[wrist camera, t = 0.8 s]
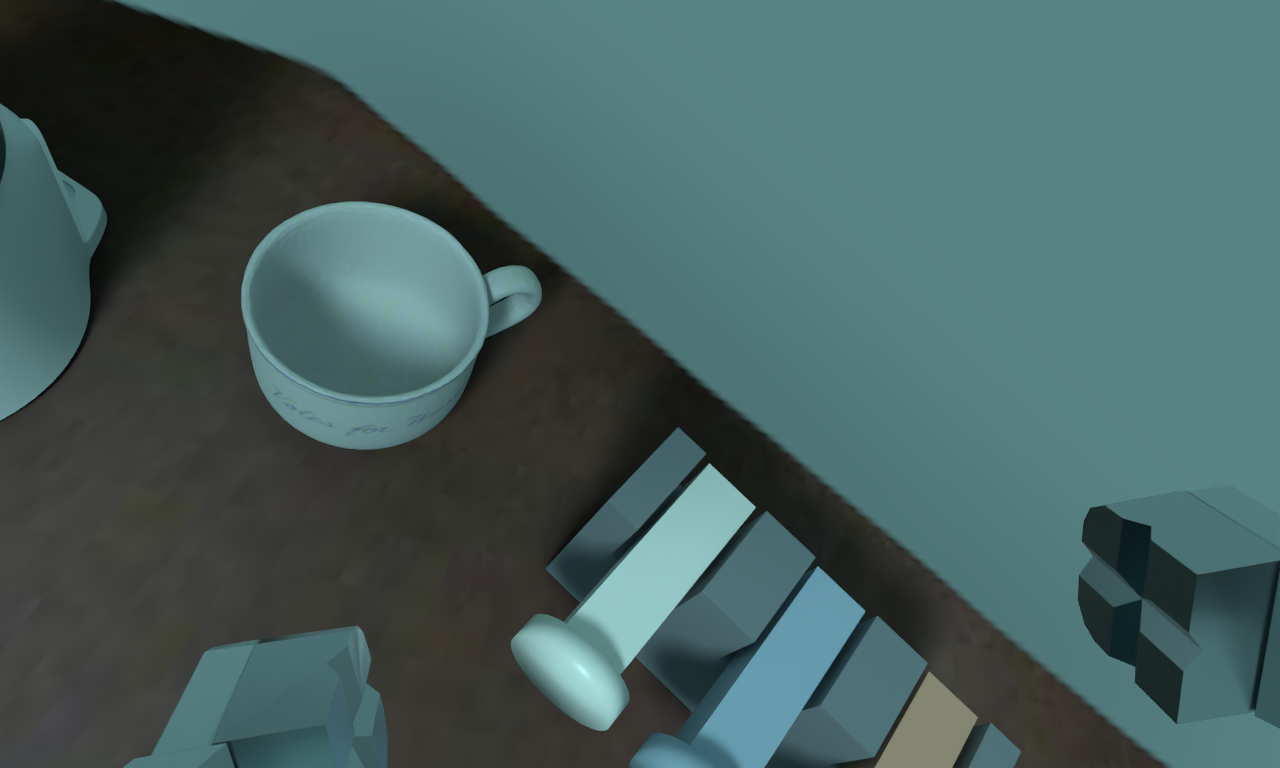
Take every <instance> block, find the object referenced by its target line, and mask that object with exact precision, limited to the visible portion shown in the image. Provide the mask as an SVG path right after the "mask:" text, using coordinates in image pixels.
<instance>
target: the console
mask: <svg viewBox="0 0 1280 768" xmlns="http://www.w3.org/2000/svg"><path fill="white" fill-rule="evenodd" d="M705 455H706V453H705V452H704V451H703V450H702V449H701V448H700V447H699V446H698V445H697V444H696V443H695V442H694V441H693V440H691V439H690V438H689V437H688V436H687V435H686V434H685V433H684V432H683V431H682V430H681V429H680V428H679V427H678V428H677V429H676V430H675V431H674V432H673V433H672V434H671V435H670V436H669V437H668V438H667V439H666V440H665V441H664V443H663V444H662V445H661V446H660V447H659V448H658V449H657V450H656V451H655V452H654V453H653V454H652V455H651V456H650V457H649V458H648V459H647V460H646V461H645V462H644V464H643V465H642V466H641V467H640V468H639V469H638V470H637V471H636V472H635V473H634V474H633V475H632V476H631V477H630V478H629V479H628V480H627V481H626V482H625V483H624V484H623V486H622V487H621V488H620V489H619V490H618V491H617V492H616V493H615V494H614V495H613V496H612V497H611V498H610V499H609V500H608V501H607V502H606V503H605V505H604V506H603V507H602V508H601V509H600V510H599V511H598V512H597V513H596V514H595V515H594V516H593V518H592V519H591V520H590V521H589V522H588V523H587V524H586V525H585V526H584V527H583V528H582V529H581V531H580V532H579V533H578V534H577V535H576V536H575V537H574V538H573V539H572V540H571V541H570V542H569V544H568V545H567V546H566V547H565V548H564V549H563V550H562V551H561V552H560V553H559V554H558V555H557V557H556V558H555V559H554V560H553V561H552V562H551V563H550V564H549V565H548V566H547V567H546V568H545V569H546V570H547V571H548V572H549V573H550V574H551V575H552V576H553V577H554V578H555V579H556V580H557V581H558V582H559V583H560V584H561V585H562V586H563V587H564V588H565V589H566V590H567V591H569V592H570V593H571V594H572V595H573V596H574V597H575V598H576V599H577V600H578V601H579V602H580V603H581V602H582V601H583V599H584V598H585V597H586V596H587V595H588V594H589V593H590V592H591V590H592V589H593V588H594V587H595V586H596V585H597V584H598V583H599V582H600V580H601V579H602V578H603V577H604V576H605V575H606V574H607V573H608V571H609V570H610V569H611V568H612V567H613V566H614V565H615V564H616V563H617V561H618V560H619V559H620V558H621V557H622V556H623V555H624V554H625V552H626V551H627V550H628V549H629V548H630V547H631V546H632V545H633V544H634V542H635V541H636V540H637V539H638V538H639V537H640V536H641V535H642V533H643V532H644V531H645V530H646V529H647V528H648V527H649V526H650V524H651V523H652V522H653V521H654V520H655V519H656V518H657V517H658V516H659V514H660V513H661V512H662V511H663V510H664V509H665V508H666V507H667V505H668V504H669V503H670V502H671V501H672V500H673V499H674V498H675V497H676V495H677V494H678V493H679V492H680V491H681V490H682V489H683V487H682V486H681V485H680V483H681V481H682V480H683V479H684V478H685V477H686V476H687V475H688V474H689V473H690V471H691V470H692V469H693V468H694V467H695V466H696V465H697V464H698V463H699V461H700V460H701V459H702V458H703V457H704V456H705ZM815 558H816V557H815V556H814V555H813V554H812V553H811V552H810V551H809V550H808V549H807V548H806V547H804V546H803V545H802V544H801V543H800V542H799V541H798V540H797V539H796V538H795V537H794V536H793V535H792V534H791V533H790V532H789V531H788V530H787V529H785V528H784V527H783V526H782V525H781V524H780V523H779V522H778V521H777V520H776V519H775V518H774V517H773V516H772V515H771V514H770V513H769V512H768V511H766V512H764V513H763V514H762V515H760V516H759V517H757V518H756V519H754V520H753V521H752V522H750V523H749V524H747V525H746V526H745V527H743V528H742V529H740V530H739V531H738V532H736V533H735V534H734V535H733V536H732V538H731V539H730V540H729V541H728V542H727V544H726V545H725V546H724V547H723V549H722V550H721V551H720V552H719V554H718V555H717V556H716V557H715V559H714V560H713V561H712V562H711V563H710V565H709V566H708V567H707V568H706V570H705V571H704V572H703V573H702V575H701V576H700V577H699V578H698V579H697V581H696V582H695V583H694V584H693V586H692V587H691V588H690V589H689V591H688V592H687V593H686V594H685V596H684V597H683V598H682V599H681V600H680V602H679V603H678V604H677V605H676V607H675V608H674V609H673V610H672V612H671V613H670V614H669V615H668V616H667V618H666V619H665V620H664V621H663V623H662V624H661V625H660V626H659V628H658V629H657V630H656V631H655V633H654V634H653V635H652V636H651V637H650V639H649V640H648V641H647V642H646V644H645V645H644V646H643V647H642V649H641V650H640V651H639V652H638V653H637V655H636V656H635V657H636V658H637V659H638V660H639V661H640V662H641V663H642V664H643V665H644V666H645V667H646V668H647V669H649V670H650V671H651V672H652V673H653V674H654V675H655V676H656V677H657V678H658V679H659V680H660V681H661V682H662V683H663V684H664V685H665V686H666V687H667V688H668V689H669V690H670V691H671V692H672V693H673V694H674V695H675V696H676V697H677V698H678V699H679V700H680V701H681V702H682V703H683V704H684V705H685V706H686V707H687V708H689V709H690V710H691V711H692V712H694V710H695V709H696V708H697V706H698V705H699V704H700V702H701V701H702V699H703V698H704V697H705V695H706V694H707V693H708V691H709V690H710V688H711V687H712V686H713V684H714V683H715V682H716V680H717V679H718V678H719V676H720V675H721V673H722V672H723V671H724V669H725V668H726V667H727V665H728V664H729V662H730V661H731V660H732V658H733V657H734V656H735V654H736V653H737V652H738V650H739V649H741V648H743V647H745V646H747V645H749V644H752V643H754V642H755V641H756V639H757V638H758V637H759V635H760V634H761V633H762V631H763V630H764V628H765V627H766V626H767V624H768V623H769V621H770V620H771V619H772V617H773V616H774V615H775V613H776V612H777V610H778V609H779V608H780V606H781V605H782V603H783V602H784V601H785V599H786V598H787V597H788V595H789V594H790V592H791V591H792V590H793V588H794V587H795V585H796V584H797V583H798V581H799V580H800V578H801V577H802V576H803V574H804V573H805V572H806V570H807V569H808V567H809V566H810V565H811V563H812V562H813V560H814V559H815ZM927 664H928V663H927V662H926V661H925V660H924V659H923V658H922V657H921V656H920V655H919V654H918V653H916V652H915V651H914V650H913V649H912V648H911V647H910V646H909V645H908V644H907V643H906V642H905V641H904V640H903V639H902V638H901V637H900V636H899V635H897V634H896V633H895V632H894V631H893V630H892V629H891V628H890V627H889V626H888V625H887V624H886V623H885V622H884V621H883V620H882V619H881V618H880V617H878V616H875V617H873V618H870V619H868V620H866V621H863V622H861V623H858V624H857V625H856V627H855V628H854V630H853V631H852V633H851V635H850V636H849V638H848V639H847V641H846V642H845V644H844V645H843V647H842V648H841V650H840V652H839V653H838V655H837V656H836V658H835V659H834V661H833V662H832V664H831V665H830V667H829V669H828V670H827V672H826V673H825V675H824V676H823V678H822V679H821V681H820V682H819V684H818V686H817V687H816V689H815V690H814V692H813V693H812V695H811V696H810V698H809V699H808V701H807V702H806V704H805V706H804V707H803V709H802V710H801V712H800V713H799V715H798V716H797V718H796V719H795V721H794V723H793V724H792V726H791V727H790V729H789V730H788V732H787V733H786V735H785V736H784V738H783V740H782V741H781V743H780V744H779V746H778V747H777V749H776V750H775V752H774V753H773V755H772V757H771V758H770V760H769V761H768V763H767V764H766V766H765V767H764V768H842V767H843V765H844V763H845V762H850V761H855V760H861V759H867V758H873V757H875V755H876V753H877V751H878V750H879V748H880V746H881V744H882V743H883V741H884V739H885V737H886V736H887V734H888V732H889V730H890V729H891V727H892V725H893V723H894V722H895V720H896V718H897V716H898V715H899V713H900V711H901V709H902V707H903V706H904V704H905V702H906V700H907V699H908V697H909V695H910V693H911V692H912V690H913V688H914V686H915V685H916V683H917V681H918V679H919V678H920V676H921V674H922V672H923V671H924V669H925V667H926V665H927ZM1020 752H1021V751H1020V750H1019V749H1018V748H1017V747H1016V746H1015V745H1014V744H1013V743H1012V742H1011V741H1009V740H1008V739H1007V738H1006V737H1005V736H1004V735H1003V734H1002V733H1001V732H1000V731H999V730H998V729H997V728H996V727H995V726H994V725H993V724H992V723H988V724H983V725H977V726H973V728H972V730H971V732H970V734H969V736H968V738H967V740H966V742H965V744H964V746H963V748H962V749H961V751H960V753H959V755H958V757H957V759H956V761H955V763H954V765H953V767H952V768H1013V767H1014V765H1015V763H1016V761H1017V759H1018V757H1019V754H1020Z"/></svg>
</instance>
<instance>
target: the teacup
mask: <svg viewBox="0 0 1280 768" xmlns="http://www.w3.org/2000/svg"><path fill="white" fill-rule="evenodd" d="M507 296H509V297H507ZM504 297H507V298H506V299H504V300H503V301H501V302H499V303H497V304H495V305H493V306H491V307H489V306H490V305H491V304H493V303H495V302H497V301H498V300H500V299H502V298H504ZM541 299H542V289H541V285H540V283H539V281H538V279H537V277H536V275H535V274H534V273H533V272H532V271H531V270H530V269H528V268H526V267H523V266H515V265H512V266H505V267H501V268H498V269H495V270H493V271H491V272H488V273H486V274H484V275H482V274H481V272H480V270H479V268H478V266H477V265H476V263H475V262H474V260H473V259H472V257H471V256H470V254H469V253H468V252H467V251H466V250H465V249H464V248H463V246H462V245H461V244H460V243H459V242H458V241H457V240H456V239H455V237H453V236H452V235H451V234H450V233H449V232H447V231H446V230H445V229H443V228H442V227H441V226H439V225H437V224H436V223H434V222H432V221H431V220H429V219H427V218H425V217H423V216H421V215H418V214H416V213H413V212H411V211H408V210H406V209H402V208H398V207H395V206H390V205H385V204H378V203H371V202H342V203H333V204H326V205H323V206H319V207H316V208H313V209H309V210H307V211H304V212H302V213H299V214H297V215H295V216H294V217H292V218H290V219H288V220H286V221H285V222H283V223H282V224H280V225H279V226H277V227H276V228H275V229H273V230H272V231H271V232H270V233H269V234H268V235H267V236H266V237H265V238H264V239H263V240H262V242H261V243H260V244H259V245H258V247H257V248H256V249H255V251H254V252H253V254H252V256H251V258H250V260H249V263H248V265H247V267H246V270H245V272H244V280H243V283H242V288H241V305H242V311H243V318H244V323H245V326H246V328H247V333H248V342H249V348H250V354H251V359H252V364H253V368H254V371H255V374H256V377H257V380H258V382H259V385H260V387H261V389H262V391H263V393H264V395H265V396H266V398H267V399H268V401H269V402H270V404H271V405H272V407H273V408H274V409H275V410H276V411H277V412H278V413H279V414H280V415H281V416H282V418H283V419H285V420H286V421H287V422H288V423H289V424H291V425H292V426H293V427H294V428H296V429H298V430H299V431H301V432H302V433H304V434H306V435H307V436H309V437H312V438H314V439H316V440H318V441H320V442H323V443H327V444H330V445H333V446H337V447H342V448H349V449H380V448H386V447H392V446H396V445H399V444H402V443H405V442H408V441H410V440H413V439H415V438H417V437H419V436H421V435H422V434H424V433H426V432H427V431H429V430H430V429H432V428H433V427H434V426H436V425H437V424H438V423H439V422H440V421H441V420H443V419H444V418H445V416H446V415H447V414H448V413H449V412H450V411H451V410H452V408H453V407H454V406H455V404H456V403H457V401H458V400H459V398H460V396H461V395H462V393H463V391H464V389H465V387H466V384H467V382H468V380H469V377H470V375H471V372H472V369H473V366H474V363H475V360H476V357H477V355H478V353H479V351H480V350H481V348H482V345H483V343H484V341H485V338H487V337H489V336H491V335H494V334H496V333H498V332H500V331H502V330H504V329H506V328H509V327H511V326H513V325H515V324H517V323H518V322H520V321H522V320H523V319H525V318H527V317H528V316H529V315H530V314H532V313H533V312H534V311H535V310H536V309H537V307H538V306H539V304H540V302H541Z"/></svg>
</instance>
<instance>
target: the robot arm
mask: <svg viewBox="0 0 1280 768" xmlns="http://www.w3.org/2000/svg"><path fill="white" fill-rule="evenodd" d="M106 224H107V215H106V212H105V210H104V208H103V205H102V203H101V201H100V200H99V198H98V197H97V196H96V195H94V194H93V193H92V192H90V191H89V190H87V189H86V188H84V187H83V186H81V185H80V184H78V183H77V182H75V181H74V180H72V179H71V178H69V177H68V176H66V175H65V174H63V173H62V172H60V171H59V170H57V168H56V165H55V163H54V161H53V158H52V156H51V154H50V152H49V149H48V147H47V145H46V143H45V140H44V138H43V136H42V134H41V132H40V131H39V129H38V128H37V126H36V125H35V124H34V123H33V122H32V121H31V120H29V119H20V118H19V117H18V116H16V115H15V114H14V113H13V112H11V111H10V110H9V109H7V108H6V107H4V106H3V105H1V104H0V420H2V419H4V418H5V417H7V416H9V415H11V414H12V413H14V412H16V411H17V410H19V409H20V408H22V407H23V406H25V405H26V404H27V403H29V402H30V401H32V400H33V399H34V398H36V397H37V396H38V395H39V394H40V393H41V392H43V391H44V390H45V389H46V388H47V387H48V386H49V385H50V384H51V383H52V382H53V381H54V380H55V379H56V378H57V377H58V376H59V374H60V373H61V372H62V371H63V370H64V368H65V367H66V366H67V364H68V363H69V361H70V360H71V358H72V357H73V355H74V354H75V352H76V350H77V348H78V346H79V344H80V342H81V340H82V338H83V335H84V332H85V329H86V326H87V322H88V318H89V312H90V298H91V296H90V281H89V265H90V259H91V257H92V255H93V253H94V251H95V250H96V248H97V246H98V244H99V242H100V240H101V238H102V236H103V233H104V231H105V228H106ZM1082 542H1083V543H1084V544H1085V546H1086V547H1087V548H1088V550H1089V551H1090V552H1091V554H1092V555H1093V557H1092V558H1091V559H1090V561H1089V562H1088V564H1087V565H1086V566H1085V568H1084V569H1083V571H1082V572H1081V573H1080V575H1079V588H1078V602H1079V606H1080V609H1081V613H1082V616H1083V620H1084V623H1085V625H1086V627H1087V629H1088V631H1089V632H1090V634H1091V636H1092V638H1093V639H1094V641H1095V642H1096V643H1097V644H1098V645H1099V646H1100V647H1101V648H1102V649H1103V650H1104V651H1105V653H1106V654H1107V655H1108V656H1110V657H1112V658H1115V659H1117V660H1120V661H1122V662H1125V663H1127V664H1130V665H1132V666H1134V667H1135V683H1136V684H1137V685H1138V686H1139V687H1140V688H1141V689H1142V690H1143V691H1144V692H1145V693H1146V694H1147V695H1148V696H1149V697H1150V698H1151V699H1152V700H1153V701H1154V702H1155V703H1156V704H1157V705H1158V706H1159V707H1160V708H1161V709H1162V710H1163V711H1164V712H1165V713H1166V714H1167V715H1168V716H1169V717H1170V718H1171V719H1172V720H1173V721H1174V722H1175V723H1176V724H1181V723H1188V722H1194V721H1200V720H1207V719H1213V718H1219V717H1226V716H1232V715H1239V714H1245V713H1251V712H1255V716H1256V717H1258V718H1260V719H1262V720H1264V721H1266V722H1268V723H1270V724H1272V725H1274V726H1276V727H1278V728H1280V515H1279V514H1278V513H1276V512H1274V511H1273V510H1271V509H1269V508H1268V507H1266V506H1264V505H1263V504H1261V503H1259V502H1258V501H1256V500H1254V499H1253V498H1251V497H1249V496H1247V495H1246V494H1244V493H1243V492H1241V491H1239V490H1237V489H1236V488H1234V487H1232V486H1229V485H1222V484H1217V483H1215V484H1210V485H1205V486H1200V487H1195V488H1190V489H1185V490H1180V491H1175V492H1173V493H1167V494H1162V495H1157V496H1151V497H1146V498H1141V499H1135V500H1130V501H1125V502H1120V503H1114V504H1109V505H1104V506H1098V507H1092V508H1090V510H1089V512H1088V514H1087V516H1086V518H1085V520H1084V524H1083V534H1082ZM370 662H371V657H370V654H369V650H368V647H367V643H366V640H365V636H364V633H363V632H362V631H361V629H360V628H359V627H358V626H351V627H344V628H337V629H330V630H323V631H316V632H309V633H302V634H295V635H288V636H281V637H274V638H267V639H263V640H261V641H260V640H252V641H246V642H240V643H234V644H229V645H223V646H217V647H213V648H212V649H210V650H208V651H206V652H205V653H204V654H203V656H202V658H201V660H200V662H199V664H198V665H197V667H196V669H195V671H194V673H193V675H192V677H191V679H190V681H189V683H188V685H187V687H186V689H185V691H184V693H183V694H182V696H181V698H180V700H179V702H178V704H177V706H176V708H175V710H174V712H173V714H172V716H171V718H170V720H169V722H168V723H167V725H166V727H165V729H164V731H163V733H162V735H161V737H160V739H159V741H158V743H157V745H156V747H155V749H154V751H153V752H152V754H151V756H147V757H142V758H136V759H134V760H132V761H131V762H130V763H128V764H127V765H126V766H124V767H123V768H387V729H386V721H385V714H384V709H383V705H382V701H381V697H380V694H379V693H378V692H377V691H376V690H374V689H373V688H372V687H370V686H369V685H368V684H367V683H366V680H367V676H368V671H369V667H370Z"/></svg>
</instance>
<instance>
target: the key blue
mask: <svg viewBox="0 0 1280 768" xmlns="http://www.w3.org/2000/svg"><path fill="white" fill-rule="evenodd" d="M864 613H865V610H864V609H863V608H862V607H861V606H860V605H858V604H857V603H856V602H855V601H854V600H853V599H852V598H851V597H850V596H849V595H848V594H847V593H846V592H845V591H844V590H843V589H842V588H841V587H839V586H838V585H837V584H836V583H835V582H834V581H833V580H832V579H831V578H830V577H829V576H828V575H827V574H826V573H825V572H824V571H823V570H822V569H820V568H819V567H818V566H817V567H816V568H814V569H812V570H810V571H808V572H806V573H805V574H803V576H802V577H801V578H800V580H799V581H798V583H797V584H796V585H795V587H794V588H793V590H792V591H791V592H790V594H789V595H788V597H787V598H786V599H785V601H784V602H783V603H782V605H781V606H780V608H779V609H778V610H777V612H776V613H775V615H774V616H773V617H772V619H771V620H770V621H769V623H768V624H767V626H766V627H765V628H764V630H763V631H762V633H761V634H760V635H759V637H758V638H757V639H756V641H755V642H754V643H752V644H749V645H747V646H745V647H743V648H741V649H739V650H738V652H737V653H736V654H735V656H734V657H733V658H732V660H731V661H730V662H729V664H728V665H727V667H726V668H725V669H724V671H723V672H722V673H721V675H720V676H719V678H718V679H717V680H716V682H715V683H714V684H713V686H712V687H711V688H710V690H709V691H708V693H707V694H706V695H705V697H704V698H703V699H702V701H701V702H700V704H699V705H698V706H697V708H696V709H695V710H694V712H693V713H692V715H691V716H690V717H689V719H688V720H687V721H686V723H685V724H684V725H683V727H682V728H681V730H680V731H679V732H678V734H677V735H676V736H675V737H673V736H670V735H667V734H663V733H652V734H651V735H650V736H649V737H648V738H647V740H646V741H645V742H644V744H643V745H642V746H641V748H640V749H639V750H638V752H637V753H636V754H635V756H634V757H633V758H632V760H631V761H630V768H764V767H765V766H766V764H767V763H768V761H769V760H770V758H771V757H772V755H773V753H774V752H775V750H776V749H777V747H778V746H779V744H780V743H781V741H782V740H783V738H784V736H785V735H786V733H787V732H788V730H789V729H790V727H791V726H792V724H793V723H794V721H795V719H796V718H797V716H798V715H799V713H800V712H801V710H802V709H803V707H804V706H805V704H806V702H807V701H808V699H809V698H810V696H811V695H812V693H813V692H814V690H815V689H816V687H817V686H818V684H819V682H820V681H821V679H822V678H823V676H824V675H825V673H826V672H827V670H828V669H829V667H830V665H831V664H832V662H833V661H834V659H835V658H836V656H837V655H838V653H839V652H840V650H841V648H842V647H843V645H844V644H845V642H846V641H847V639H848V638H849V636H850V635H851V633H852V631H853V630H854V628H855V627H856V625H857V624H858V622H859V621H860V619H861V618H862V616H863V614H864Z"/></svg>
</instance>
